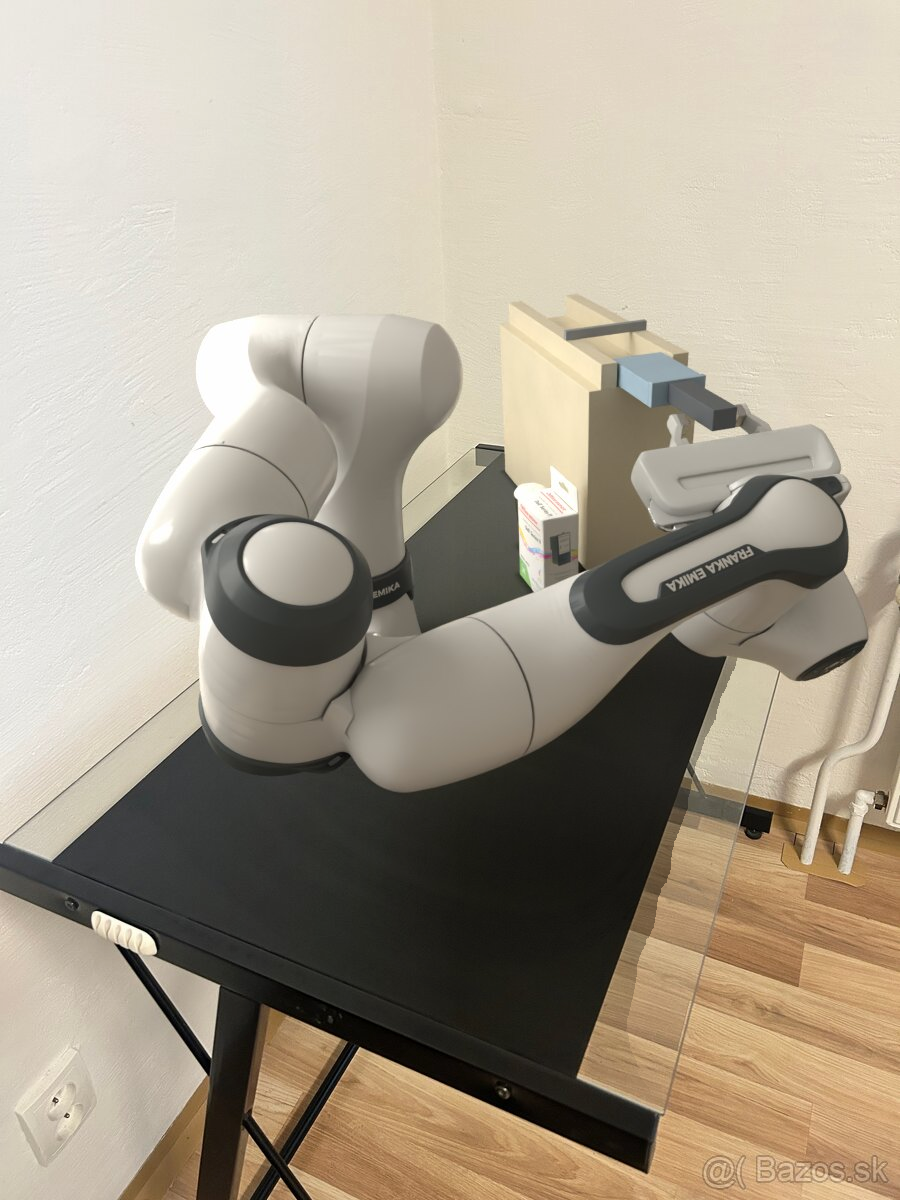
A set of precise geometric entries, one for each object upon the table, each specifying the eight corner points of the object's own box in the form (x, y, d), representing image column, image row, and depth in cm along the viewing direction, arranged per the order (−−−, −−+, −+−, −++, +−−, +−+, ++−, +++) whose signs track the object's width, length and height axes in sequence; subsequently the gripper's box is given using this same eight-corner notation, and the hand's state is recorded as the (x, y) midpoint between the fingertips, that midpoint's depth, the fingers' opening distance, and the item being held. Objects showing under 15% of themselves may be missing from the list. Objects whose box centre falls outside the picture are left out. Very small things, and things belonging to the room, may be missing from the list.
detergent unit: (586, 570, 115) (589, 356, 101) (505, 471, 146) (498, 295, 131) (684, 552, 118) (701, 340, 103) (584, 458, 148) (586, 284, 134)
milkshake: (552, 554, 120) (552, 486, 115) (513, 553, 121) (511, 486, 116) (556, 539, 124) (555, 473, 118) (518, 538, 125) (515, 472, 120)
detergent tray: (694, 438, 88) (696, 411, 87) (610, 380, 106) (610, 357, 104) (752, 429, 89) (755, 402, 88) (659, 373, 107) (660, 350, 106)
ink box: (517, 574, 116) (514, 470, 108) (552, 567, 117) (551, 462, 109) (543, 606, 109) (541, 496, 101) (580, 597, 110) (581, 488, 102)
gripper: (651, 556, 86) (605, 447, 92) (838, 521, 89) (780, 419, 96) (669, 518, 80) (618, 406, 87) (867, 483, 84) (804, 377, 90)
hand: (705, 412), depth 91 cm, fingers open, 5 cm apart
